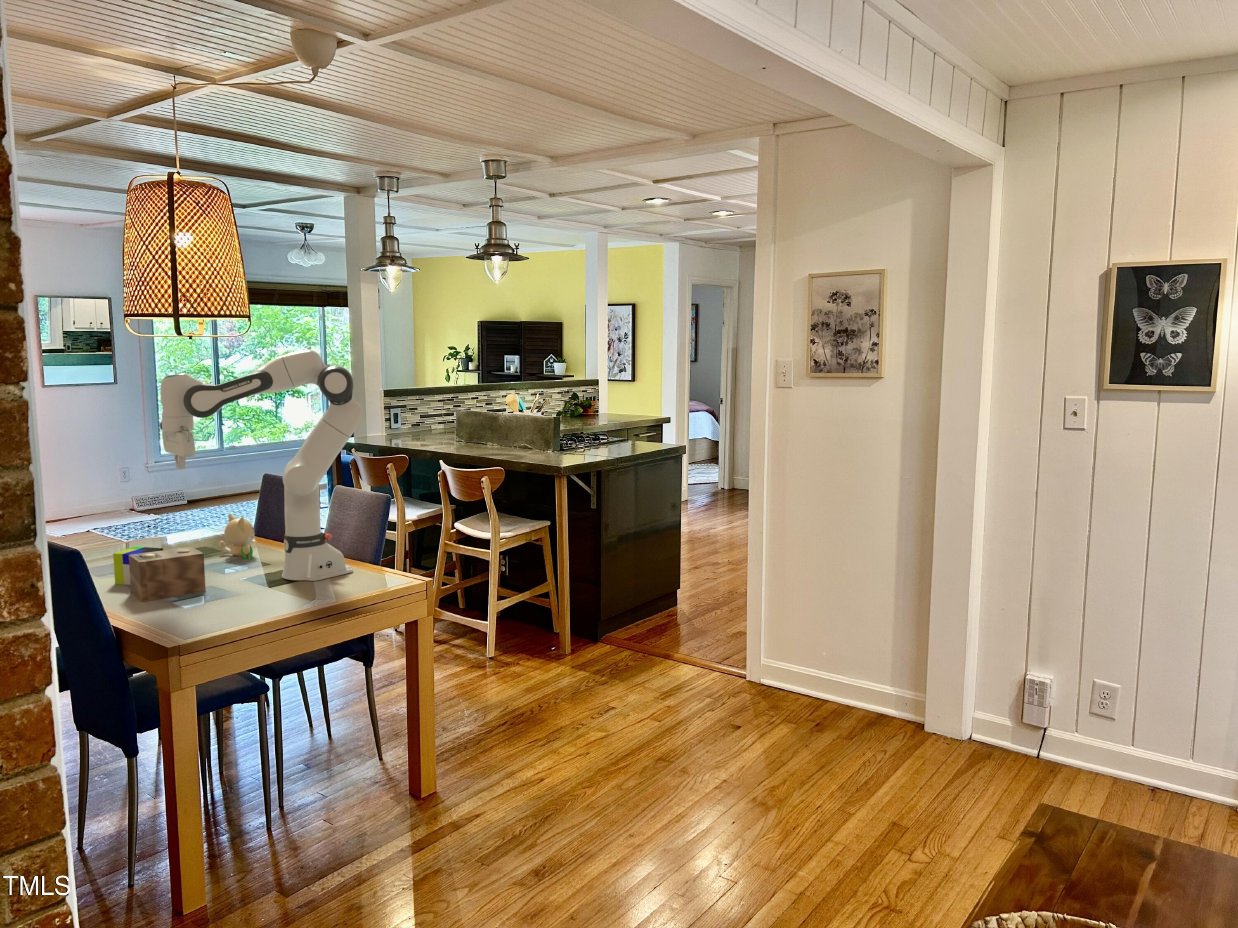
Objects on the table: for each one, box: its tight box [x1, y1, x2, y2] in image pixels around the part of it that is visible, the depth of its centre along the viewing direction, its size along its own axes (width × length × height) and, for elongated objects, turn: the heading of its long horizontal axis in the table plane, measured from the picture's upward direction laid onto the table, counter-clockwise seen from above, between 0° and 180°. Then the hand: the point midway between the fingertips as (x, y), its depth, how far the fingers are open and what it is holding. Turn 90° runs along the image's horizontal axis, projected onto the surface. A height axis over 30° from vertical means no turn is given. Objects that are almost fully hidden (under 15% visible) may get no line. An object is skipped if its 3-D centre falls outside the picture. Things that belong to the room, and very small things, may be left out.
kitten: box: [218, 513, 256, 560], centre depth 318 cm, size 15×10×15 cm
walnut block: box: [129, 546, 207, 603], centre depth 270 cm, size 18×12×12 cm, turn 132°
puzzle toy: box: [112, 546, 164, 586], centre depth 283 cm, size 10×10×10 cm
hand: (180, 468), depth 278 cm, fingers closed
